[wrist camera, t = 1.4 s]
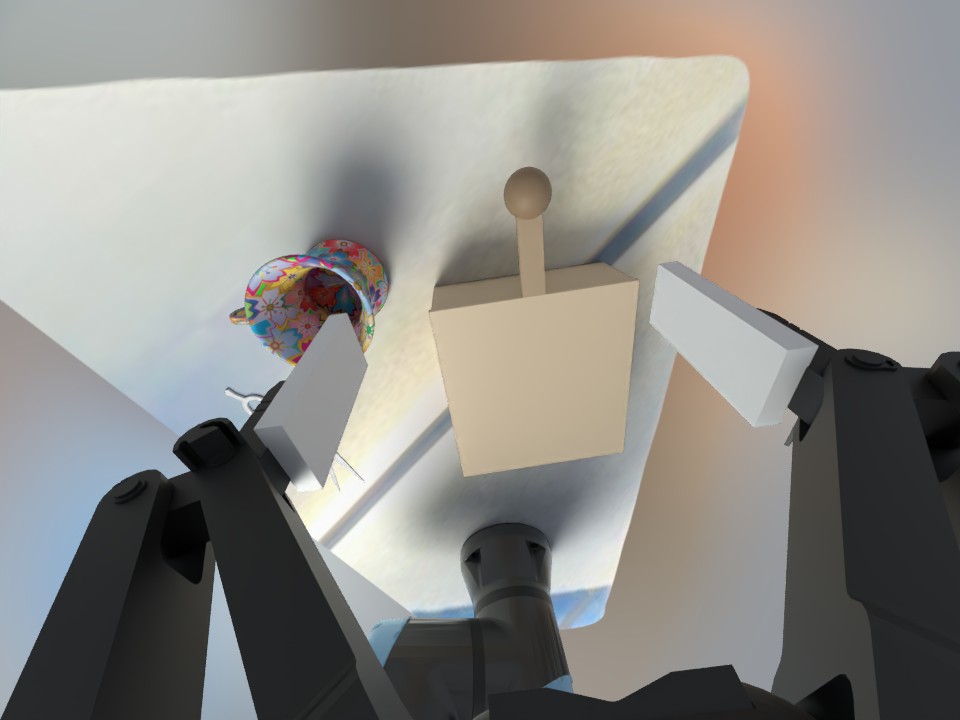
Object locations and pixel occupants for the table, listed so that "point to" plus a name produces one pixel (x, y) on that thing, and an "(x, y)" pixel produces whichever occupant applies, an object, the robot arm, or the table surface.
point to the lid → (537, 358)
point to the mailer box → (512, 286)
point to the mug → (313, 296)
